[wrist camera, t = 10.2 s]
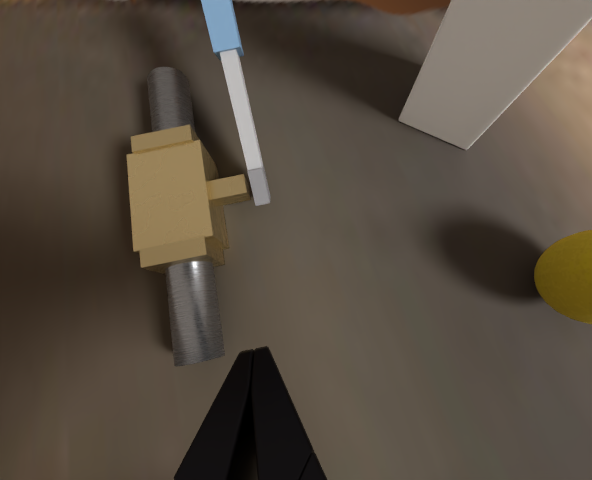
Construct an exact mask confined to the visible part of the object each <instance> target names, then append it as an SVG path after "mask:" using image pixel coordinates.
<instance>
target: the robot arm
mask: <svg viewBox="0 0 592 480" xmlns="http://www.w3.org/2000/svg"><path fill="white" fill-rule="evenodd" d="M174 480H327V478H326V476H325V474H324V472H323V470H322V467H321V465H320V463H319V461H318V458H317V456H316V454H315V453H314V450H313V447H312V445H311V443H310V440H309V438H308V436H307V434H306V431H305V429H304V427H303V425H302V422H301V420H300V418H299V415H298V413H297V411H296V409H295V406H294V404H293V402H292V400H291V397H290V395H289V393H288V390H287V388H286V386H285V384H284V381H283V379H282V377H281V375H280V372H279V370H278V368H277V365H276V363H275V361H274V359H273V356H272V354H271V352H270V350H269V348H268V347H267V346H265V347H260V348H256V349H255V350H253V349H250V350H245V351H241V352H240V353H239V355H238V356H237V358H236V360H235V362H234V364H233V366H232V368H231V370H230V372H229V374H228V375H227V377H226V379H225V381H224V383H223V385H222V387H221V389H220V391H219V393H218V394H217V396H216V398H215V400H214V402H213V404H212V406H211V408H210V410H209V412H208V413H207V415H206V417H205V419H204V421H203V423H202V425H201V427H200V429H199V431H198V432H197V434H196V436H195V438H194V440H193V442H192V444H191V446H190V448H189V450H188V451H187V453H186V455H185V457H184V459H183V461H182V463H181V465H180V467H179V469H178V470H177V472H176V474H175V476H174Z"/></svg>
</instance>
